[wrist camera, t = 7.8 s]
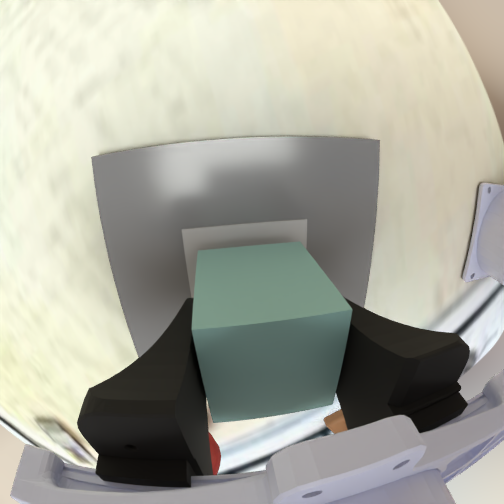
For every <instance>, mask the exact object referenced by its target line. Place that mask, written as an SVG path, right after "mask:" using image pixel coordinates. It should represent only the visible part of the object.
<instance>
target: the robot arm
mask: <svg viewBox="0 0 504 504" xmlns="http://www.w3.org/2000/svg"><path fill="white" fill-rule="evenodd" d="M488 276H491V277H493V278H494V279H495V280H497V281H498V282H500V283H501V284H502V285H504V185H501V184H493V183H484V182H483V183H481V184H480V187H479V194H478V202H477V209H476V215H475V222H474V227H473V233H472V238H471V243H470V248H469V252H468V257H467V261H466V265H465V269H464V273H463V280H464V281H465V282H470V281H473V280H477V279H481V278H484V277H488ZM344 299H345V300H346V301H347V303H348V304H349V305H350V307H351V308H352V316H351V321H350V327H349V333H348V338H347V343H346V348H345V353H344V358H343V363H342V367H341V372H340V376H339V380H338V385H337V389H336V394H337V397H338V400H339V403H340V406H341V409H342V412H343V416H344V419H345V422H346V426H347V431H343V432H340V433H336V434H332V435H328V436H324V437H320V438H316V439H311V440H307V441H304V442H300V443H297V444H294V445H291V446H288V447H286V448H284V449H282V450H281V451H279V452H277V453H275V454H274V455H273V456H272V457H271V458H270V460H269V462H268V463H267V465H266V470H263V471H256V472H247V473H238V474H226V475H213V468H212V460H211V452H210V442H209V432H208V420H207V406H206V393H205V388H204V384H203V380H202V376H201V371H200V367H199V363H198V358H197V353H196V349H195V344H194V339H193V334H192V315H193V300H194V298H187V299H186V300H185V302H184V303H183V305H182V307H181V308H180V310H179V312H178V313H177V315H176V316H175V318H174V319H173V320H172V322H171V323H170V325H169V326H168V328H167V329H166V330H165V331H164V333H163V334H162V335H161V336H160V338H159V339H158V340H157V341H156V342H155V343H154V344H153V345H152V347H150V348H149V349H148V350H147V351H146V352H145V353H144V354H143V355H142V356H141V357H139V358H138V359H137V360H136V361H134V362H133V363H132V364H131V365H129V366H128V367H127V368H125V369H124V370H122V371H121V372H119V373H118V374H116V375H114V376H113V377H111V378H109V379H107V380H105V381H104V382H102V383H100V384H98V385H96V386H94V387H92V388H89V390H88V392H87V394H86V396H85V399H84V402H83V405H82V408H81V411H80V414H79V418H78V421H77V425H78V429H79V430H80V432H81V434H82V435H83V437H84V438H85V439H86V440H87V441H88V442H89V444H90V445H91V446H92V447H93V448H94V449H95V451H96V452H97V453H98V454H99V455H98V461H97V466H96V469H92V468H87V467H82V466H77V465H72V464H67V463H64V462H63V461H62V460H61V458H60V457H59V456H58V455H56V454H55V453H53V452H51V451H49V450H46V449H43V448H39V447H35V446H32V445H28V444H26V445H25V448H24V450H23V453H22V456H21V460H20V463H19V466H18V469H17V472H16V476H15V480H14V483H13V487H12V491H11V495H10V496H11V497H12V498H13V499H14V500H16V501H17V502H19V503H20V504H456V503H455V501H454V499H453V498H452V496H451V494H450V492H449V490H448V488H447V486H446V483H447V482H449V481H450V480H452V479H453V478H455V477H456V476H458V475H459V474H461V473H462V472H463V471H465V470H466V469H468V468H469V467H470V466H472V465H473V464H474V463H476V462H477V461H478V460H480V459H481V458H482V457H483V456H485V455H486V454H487V453H489V452H490V451H491V450H492V449H494V448H495V447H496V446H497V445H498V444H500V443H501V442H502V441H503V440H504V369H503V370H502V371H501V372H499V373H497V374H496V375H494V376H493V377H492V378H491V379H490V380H489V381H488V382H487V384H486V385H485V387H484V389H483V391H482V392H481V393H480V394H478V395H476V396H475V397H473V398H471V399H470V400H468V401H465V400H464V398H463V397H462V396H461V395H460V393H459V391H460V390H461V386H460V385H459V383H458V382H457V381H458V379H459V377H460V375H461V373H462V371H463V369H464V367H465V366H466V363H467V361H468V358H469V353H470V350H469V346H468V345H467V344H466V343H465V342H464V341H463V340H462V339H461V338H460V337H459V336H458V335H457V334H456V333H446V332H436V331H430V330H425V329H419V328H415V327H411V326H408V325H404V324H401V323H398V322H395V321H392V320H389V319H387V318H384V317H382V316H379V315H377V314H375V313H373V312H370V311H369V310H367V309H365V308H363V307H361V306H359V305H357V304H355V303H353V302H352V301H350V300H348V299H347V298H345V297H344Z"/></svg>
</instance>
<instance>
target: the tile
mask: <svg viewBox="0 0 504 504" xmlns="http://www.w3.org/2000/svg"><path fill="white" fill-rule="evenodd" d="M379 151H380V140H374V139H362V138H345V137H318V136H271V137H244V138H226V139H213V140H201V141H191V142H181V143H173V144H165V145H157V146H150V147H143V148H137V149H131V150H125V151H119V152H113V153H108V154H103V155H98V156H94V157H92V166H93V174H94V181H95V188H96V195H97V201H98V207H99V213H100V218H101V224H102V229H103V234H104V239H105V243H106V248H107V252H108V257H109V261H110V265H111V269H112V273H113V277H114V281H115V284H116V288H117V292H118V295H119V299H120V302H121V305H122V309H123V312H124V315H125V319H126V322H127V325H128V328H129V331H130V334H131V337H132V340H133V343H134V346H135V348H136V351H137V354H138V357H141V356H142V355H143V354H144V353H145V352H146V351H147V350H148V349H149V348H150V347H152V345H153V344H154V343H155V342H156V341H157V340H158V339H159V338H160V336H161V335H162V334H163V333H164V331H165V330H166V329H167V328H168V326H169V325H170V323H171V322H172V320H173V319H174V318H175V316H176V315H177V313H178V312H179V310H180V308H181V307H182V305H183V303H184V302H185V300H186V299H187V298H194V287H195V275H196V263H197V253H198V250H209V249H220V248H231V247H242V246H253V245H265V244H276V243H287V242H299V241H300V242H301V243H302V245H303V246H304V247H305V248H306V250H307V251H308V252H309V253H310V255H311V256H312V257H313V258H314V260H315V261H316V262H317V264H318V265H319V266H320V267H321V269H322V270H323V271H324V273H325V274H326V275H327V276H328V278H329V279H330V280H331V282H332V283H333V284H334V286H335V287H336V288H337V289H338V291H339V292H340V293H341V295H342V296H343V297H345V298H347V299H348V300H350V301H352V302H353V303H355V304H357V305H359V306H361V307H363V308H364V304H365V298H366V292H367V286H368V280H369V273H370V266H371V259H372V251H373V242H374V233H375V223H376V211H377V198H378V181H379Z"/></svg>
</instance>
